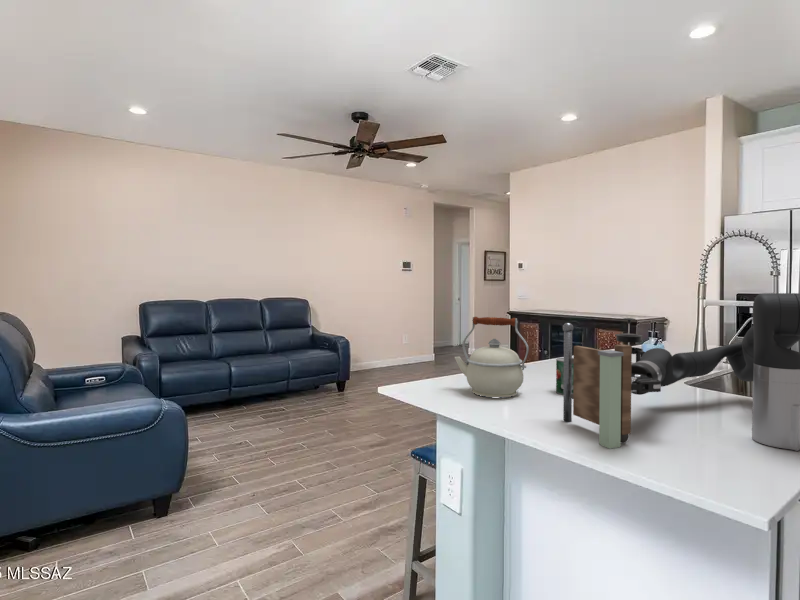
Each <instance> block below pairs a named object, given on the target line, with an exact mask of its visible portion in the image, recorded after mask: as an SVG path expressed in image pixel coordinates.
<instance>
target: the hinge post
mask: <svg viewBox="0 0 800 600" xmlns="http://www.w3.org/2000/svg"><path fill="white" fill-rule="evenodd" d="M562 331H563V358H564V395H563V410H562V411H563V415H562V417H563V422H566V423H571V422H572V419H573V418H572V417H573V416H572V415H573V414H572V413H573V410H572V409H573V405H572V404H573V401H572V400H573V399H572V398H570V393H572V363H571V358H573V331H574V325H573V324H572V323H570V322H565V323H564V324H563V325H562Z"/></svg>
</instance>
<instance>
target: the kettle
mask: <svg viewBox="0 0 800 600" xmlns="http://www.w3.org/2000/svg"><path fill="white" fill-rule="evenodd" d="M518 323H519V322H518V318H516V317H512V318H507V317H495V316H494V317H493V316H486V317H485V316H484V317H478V316H473V317H472V327H471V330H470V331H469V332H468V334H467V335H465V338H463V340H462V341H463V342H462V351H463V354H464V357H465V359H466V360H464V361H463V359H462V358H461V356H454V360H455V361H456V363H457V366H458V367H459V368H458V369H460V371H461V372H462V374H463V375H464V376H465V377H466V381H467V383H468V385H469V387H470V388H472V393H473V394H474V393H475V394H477V395H476V396H478V395H481V396H486V397H509V398H512V397H511V396H513V397H515V396H517V394H518V392H517V391H518V390H519V389H520V388H521V386H522V384H523V383H524V372H523V371H524V370H525V369H527V365H525V362H526V361H527V358H528V355H529V348H530V347H529V345H528V342H527V341H526V339H525V338H524V337H523V336H522V334H521V333H520V332H519V330H518ZM476 325H485V326H501V327H502V326H512V327H514V328H515V329H514V330H515V333H516V334H517V335H518V337H519V338H520V339H521V340H522V341H523V343H524V344H525V347H526V351H525V356H524V359H523V360H522V359H521V358H520V356H519V354H518V353H517V352H516V351H514V350H512V348H507V347H504V346H500V345H501V342H500V340H499V339H497V338H492V339H490V341H489V342H487V344H488V345H489V346H483V347H480V348H477V349H475V350H474V351H472V352H471V354H470V356H468V354H467V353H468V352H467V351H466V345H465V344H466V341H467V339H468V338H469V336H470V335H471V334H472V333H473V332H474V330H475V329H476V328H475V326H476ZM475 394H474V395H475ZM481 396H480V397H481ZM486 397H485V398H486Z"/></svg>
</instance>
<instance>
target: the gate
mask: <svg viewBox="0 0 800 600" xmlns="http://www.w3.org/2000/svg"><path fill="white" fill-rule="evenodd" d="M598 351H605V350H604V349H598V348H595V347H594V348H593V347H587V346H581V345H573V357H572V358H571V363H572V364H574V379H573V393H570V398H572V400H573V401H572V404H573V405H572V409H573V410H572V413H573V414H572V415H573V416H576V417H578V418H581V419H583V420H586V421H587V422H590V423H592V424H593V423H594V424H597V425H598V426H599V411H600V355H598ZM614 351H619V352H624V356H621V438H620V444H621V443H622V444H626V443H627V442H628V440H629V438H630V437H629V435H631V433H632V393H631V366H632V359H633V358H632V356H633V354H632V345H630V344H629V345H628V344H614Z"/></svg>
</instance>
